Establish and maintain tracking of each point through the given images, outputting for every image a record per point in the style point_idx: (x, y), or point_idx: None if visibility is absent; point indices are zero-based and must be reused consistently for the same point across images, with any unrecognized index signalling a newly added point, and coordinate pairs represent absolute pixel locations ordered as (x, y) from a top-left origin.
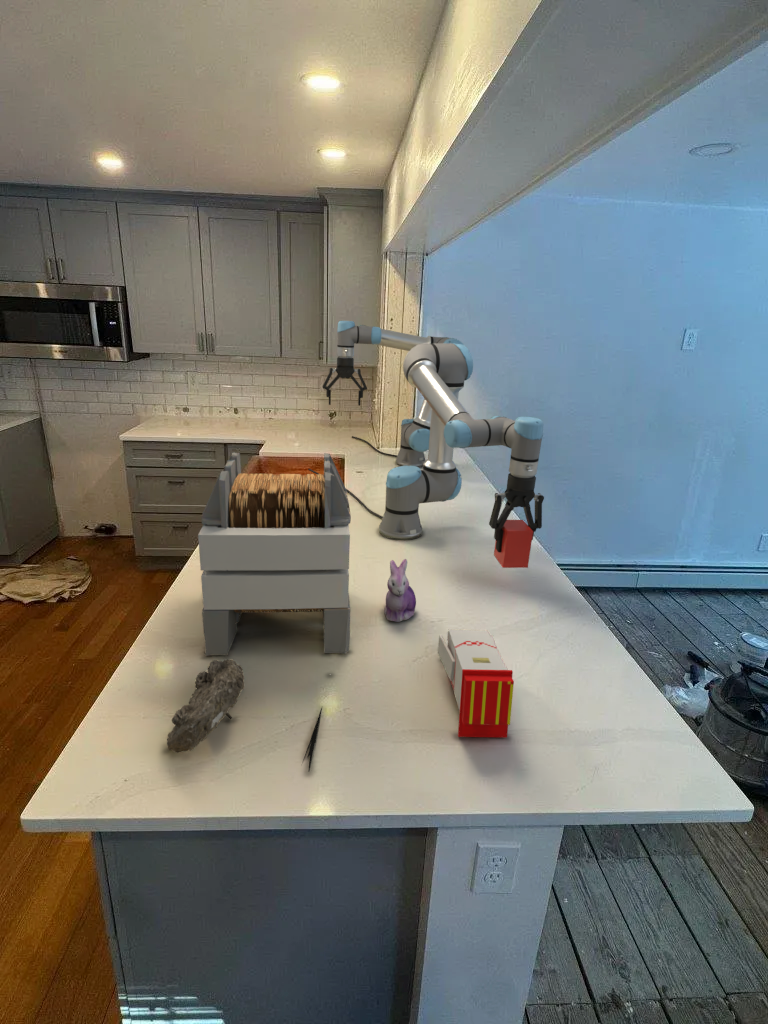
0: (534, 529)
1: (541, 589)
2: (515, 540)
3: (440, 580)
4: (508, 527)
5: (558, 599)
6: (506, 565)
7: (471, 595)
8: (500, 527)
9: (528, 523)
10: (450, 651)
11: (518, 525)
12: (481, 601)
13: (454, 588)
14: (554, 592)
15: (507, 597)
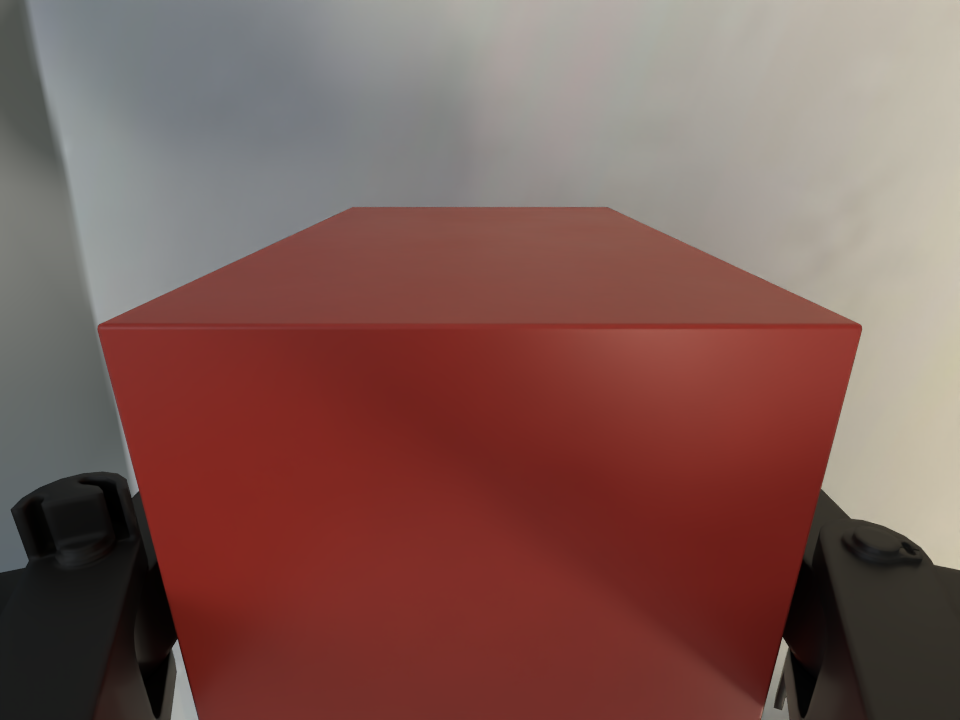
0: (62, 510)
1: (262, 187)
2: (556, 262)
3: (916, 342)
4: (709, 547)
5: (166, 13)
6: (578, 208)
7: (811, 111)
8: (874, 571)
9: (146, 705)
10: None
11: (410, 646)
12: (781, 5)
13: (880, 225)
14: (174, 135)
15: (556, 66)
